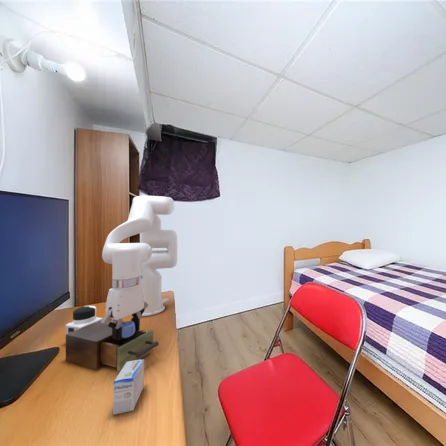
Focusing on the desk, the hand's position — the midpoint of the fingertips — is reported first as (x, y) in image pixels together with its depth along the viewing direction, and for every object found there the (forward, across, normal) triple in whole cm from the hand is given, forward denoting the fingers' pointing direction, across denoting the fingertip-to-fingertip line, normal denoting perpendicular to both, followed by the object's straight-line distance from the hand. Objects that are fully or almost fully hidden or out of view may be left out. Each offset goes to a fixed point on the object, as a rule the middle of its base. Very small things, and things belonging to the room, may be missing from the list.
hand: (126, 333), depth 74 cm
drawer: (+8, 0, +1) cm, 8 cm away
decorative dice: (+1, 0, 0) cm, 1 cm away
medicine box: (+9, +12, +18) cm, 24 cm away
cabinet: (+9, 0, -11) cm, 14 cm away
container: (+9, -4, -27) cm, 29 cm away
